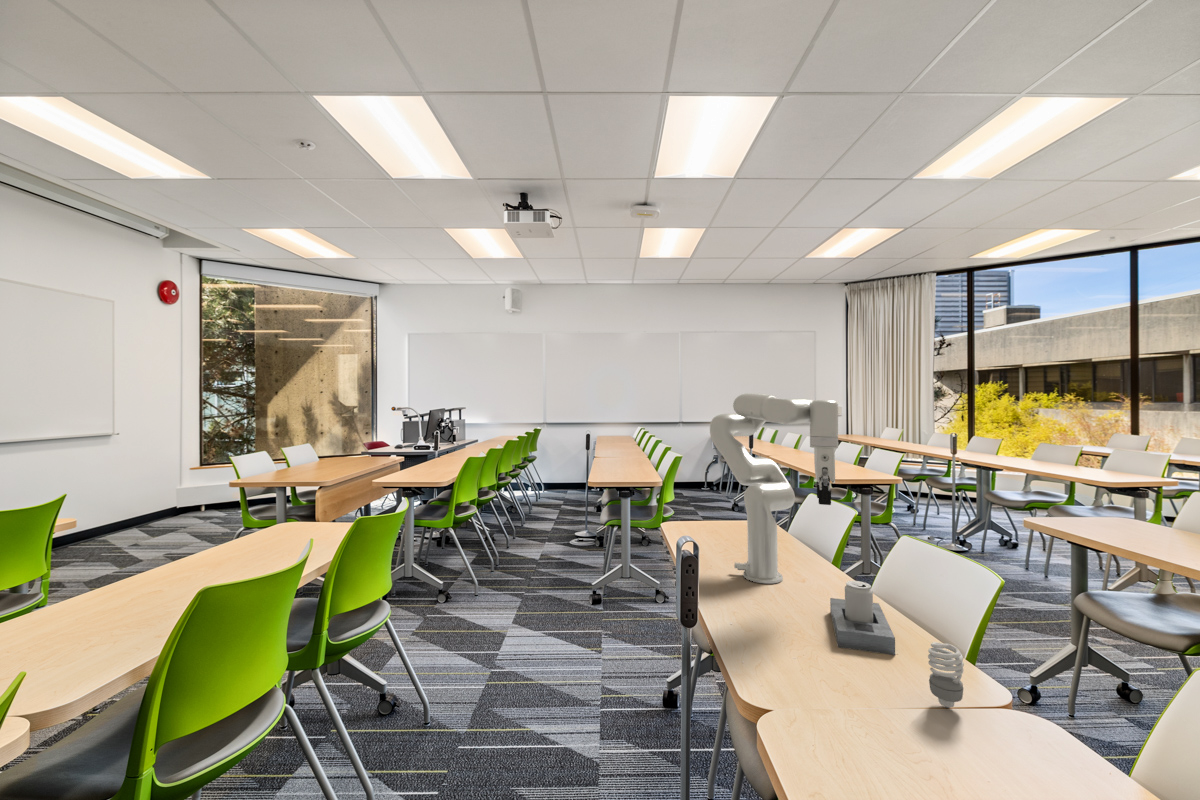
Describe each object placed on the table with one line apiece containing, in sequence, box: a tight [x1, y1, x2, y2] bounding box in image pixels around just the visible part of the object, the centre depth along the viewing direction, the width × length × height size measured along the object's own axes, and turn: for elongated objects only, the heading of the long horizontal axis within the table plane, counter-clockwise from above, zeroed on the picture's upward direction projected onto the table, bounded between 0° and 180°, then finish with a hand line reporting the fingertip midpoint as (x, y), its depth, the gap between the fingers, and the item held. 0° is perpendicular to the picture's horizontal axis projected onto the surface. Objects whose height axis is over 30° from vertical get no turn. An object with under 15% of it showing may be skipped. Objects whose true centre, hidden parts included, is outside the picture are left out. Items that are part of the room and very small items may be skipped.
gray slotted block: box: [829, 597, 896, 656], centre depth 129 cm, size 12×22×4 cm, turn 160°
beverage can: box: [844, 580, 874, 623], centre depth 130 cm, size 6×6×12 cm
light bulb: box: [927, 641, 965, 709], centre depth 97 cm, size 6×6×12 cm
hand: (823, 501), depth 148 cm, fingers open, 9 cm apart
